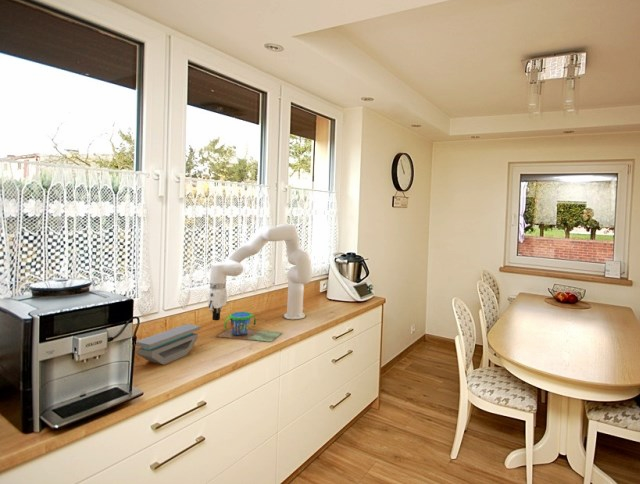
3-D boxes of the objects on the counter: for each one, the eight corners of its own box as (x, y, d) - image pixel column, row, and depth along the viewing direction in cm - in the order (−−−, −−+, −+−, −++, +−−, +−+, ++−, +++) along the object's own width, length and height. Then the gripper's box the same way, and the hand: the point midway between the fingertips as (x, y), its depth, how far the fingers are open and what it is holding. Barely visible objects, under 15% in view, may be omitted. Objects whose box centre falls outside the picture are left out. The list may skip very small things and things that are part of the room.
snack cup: (253, 328, 199) (254, 310, 199) (257, 334, 190) (258, 315, 190) (222, 332, 190) (223, 313, 190) (225, 338, 182) (226, 319, 181)
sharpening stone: (148, 371, 144) (149, 344, 144) (133, 367, 147) (134, 341, 146) (199, 349, 168) (200, 326, 168) (185, 346, 171) (187, 323, 170)
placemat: (230, 328, 198) (230, 328, 198) (281, 333, 195) (281, 332, 195) (216, 337, 185) (216, 336, 185) (270, 342, 182) (271, 341, 182)
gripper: (216, 289, 183) (214, 325, 183) (232, 283, 198) (230, 316, 198) (202, 288, 184) (200, 323, 184) (219, 282, 199) (217, 315, 199)
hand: (216, 319), depth 191 cm, fingers closed
